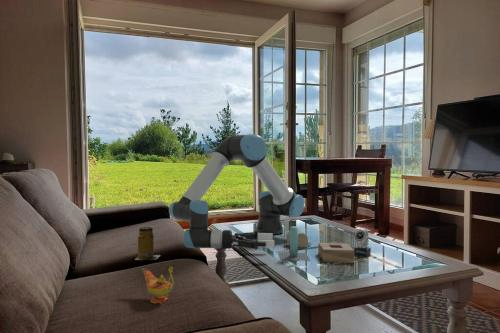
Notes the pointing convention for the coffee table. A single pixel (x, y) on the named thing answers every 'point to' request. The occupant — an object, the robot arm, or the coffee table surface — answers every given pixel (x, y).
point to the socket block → (336, 252)
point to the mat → (287, 257)
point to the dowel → (293, 241)
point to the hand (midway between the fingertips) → (273, 240)
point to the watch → (362, 243)
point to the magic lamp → (158, 285)
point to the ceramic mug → (300, 239)
